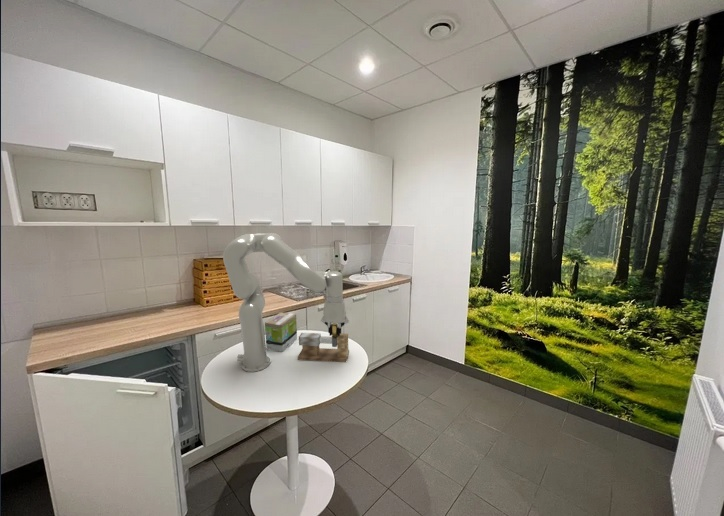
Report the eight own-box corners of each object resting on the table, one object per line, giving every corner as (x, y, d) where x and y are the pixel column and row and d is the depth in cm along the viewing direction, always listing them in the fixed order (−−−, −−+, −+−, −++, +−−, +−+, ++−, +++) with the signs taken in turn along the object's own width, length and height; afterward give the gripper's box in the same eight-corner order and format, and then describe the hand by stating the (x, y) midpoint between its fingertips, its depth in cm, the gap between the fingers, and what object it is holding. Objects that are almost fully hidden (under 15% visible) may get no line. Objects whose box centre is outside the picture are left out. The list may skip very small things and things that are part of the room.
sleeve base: (297, 359, 142) (296, 339, 140) (303, 350, 151) (302, 330, 148) (346, 362, 139) (345, 341, 137) (349, 352, 148) (348, 332, 146)
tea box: (283, 352, 149) (281, 324, 146) (266, 349, 152) (263, 322, 149) (297, 338, 163) (296, 313, 160) (281, 336, 166) (279, 311, 163)
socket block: (337, 356, 141) (336, 338, 139) (339, 351, 146) (338, 333, 144) (346, 357, 141) (346, 338, 139) (348, 351, 146) (348, 333, 144)
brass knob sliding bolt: (312, 345, 142) (311, 325, 140) (315, 341, 146) (314, 321, 144) (342, 347, 140) (342, 326, 138) (344, 342, 145) (343, 322, 143)
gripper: (315, 300, 135) (316, 337, 139) (351, 301, 134) (350, 339, 137) (319, 294, 143) (319, 330, 146) (353, 296, 141) (353, 332, 145)
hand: (334, 334), depth 142 cm, fingers open, 3 cm apart
